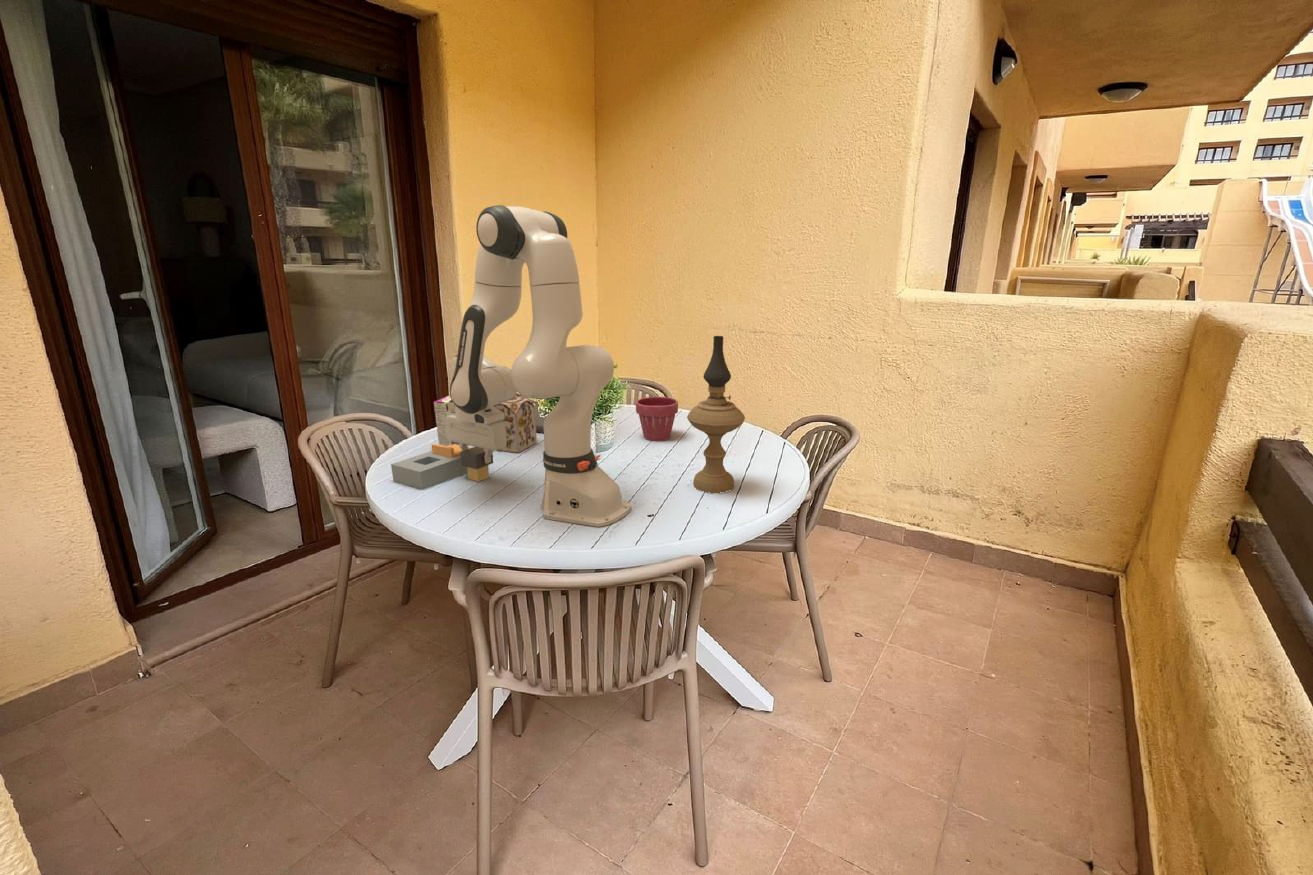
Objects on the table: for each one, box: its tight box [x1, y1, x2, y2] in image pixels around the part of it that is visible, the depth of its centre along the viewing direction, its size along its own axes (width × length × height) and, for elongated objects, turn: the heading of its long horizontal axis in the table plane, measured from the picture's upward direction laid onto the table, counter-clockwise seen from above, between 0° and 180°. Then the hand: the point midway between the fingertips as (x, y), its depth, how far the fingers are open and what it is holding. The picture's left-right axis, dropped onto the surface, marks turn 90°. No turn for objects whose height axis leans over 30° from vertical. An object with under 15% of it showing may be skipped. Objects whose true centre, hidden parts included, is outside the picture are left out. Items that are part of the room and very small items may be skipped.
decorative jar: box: [494, 393, 538, 454], centre depth 187 cm, size 12×12×18 cm
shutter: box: [431, 443, 471, 458], centre depth 168 cm, size 8×8×3 cm
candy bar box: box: [433, 394, 459, 446], centre depth 187 cm, size 11×5×16 cm, turn 168°
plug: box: [460, 446, 494, 482], centre depth 161 cm, size 6×6×8 cm
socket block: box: [390, 445, 468, 491], centre depth 164 cm, size 12×20×5 cm, turn 150°
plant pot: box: [635, 396, 679, 442], centre depth 198 cm, size 14×14×13 cm
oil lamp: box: [686, 335, 746, 494], centre depth 151 cm, size 15×15×40 cm
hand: (477, 460), depth 161 cm, fingers closed on plug, 6 cm apart
